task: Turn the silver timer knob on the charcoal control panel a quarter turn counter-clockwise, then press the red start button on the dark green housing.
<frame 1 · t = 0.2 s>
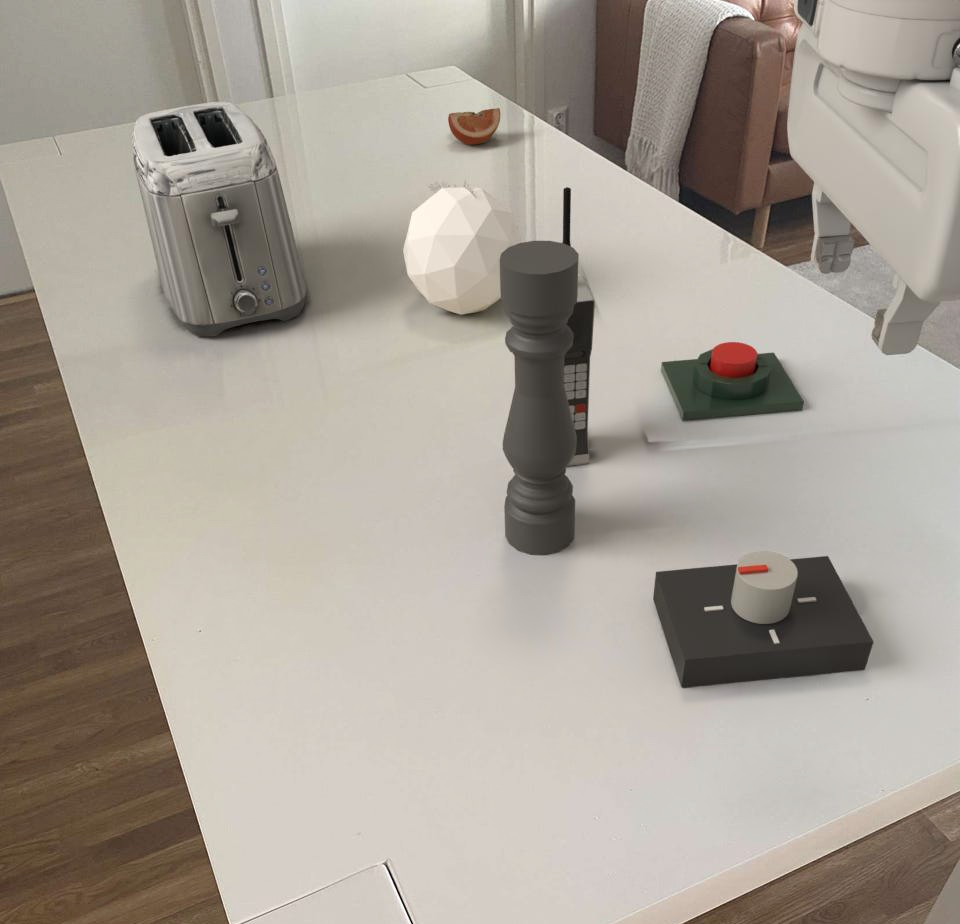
hand: (858, 305, 54), 30 cm above the table, tool pointing down, fingers open, 8 cm apart
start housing: (727, 400, 104), on the table
toaster: (233, 290, 128), on the table
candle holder: (539, 534, 89), on the table
start button: (733, 360, 101), point 4 cm above the table, slide at 0.1 cm
fruit slice: (476, 145, 162), on the table
timer panel: (754, 633, 79), on the table
geodesic sphere: (466, 307, 122), on the table
timer knob: (764, 585, 76), point 5 cm above the table, hinge at 0.0°
vintage mobile phone: (564, 455, 98), on the table
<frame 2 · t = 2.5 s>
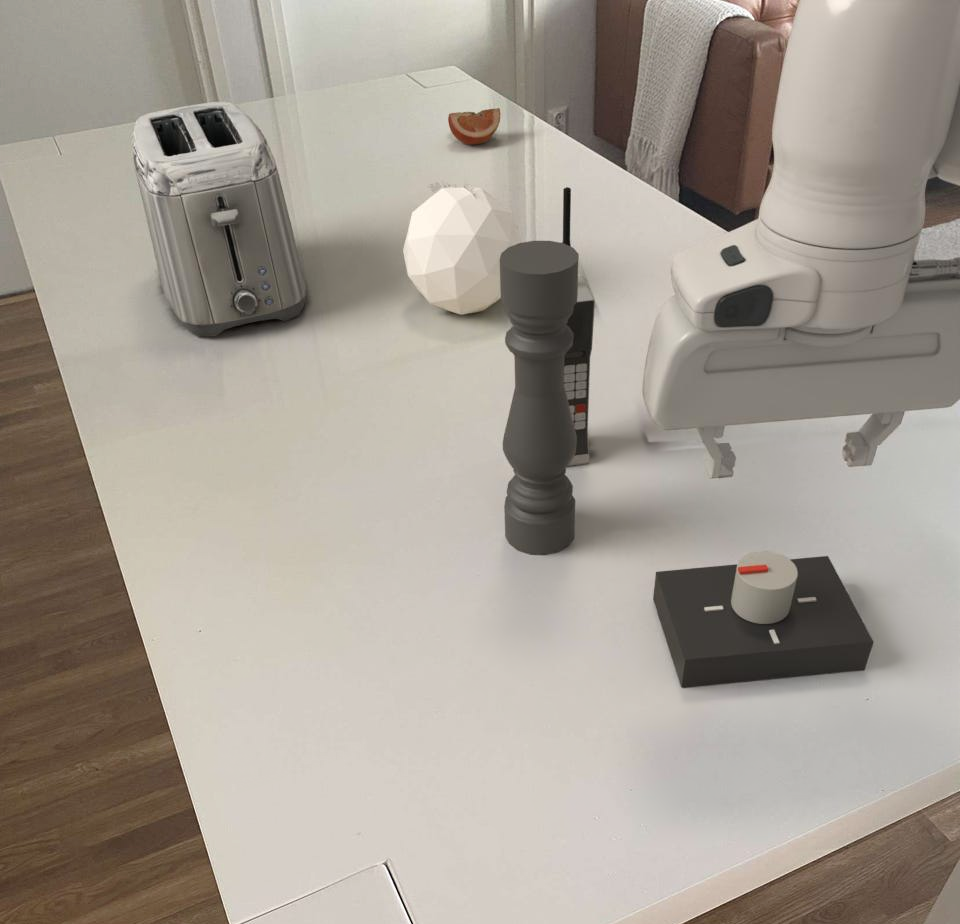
hand: (787, 467, 68), 16 cm above the table, tool pointing down, fingers open, 8 cm apart
nothing on the table moved.
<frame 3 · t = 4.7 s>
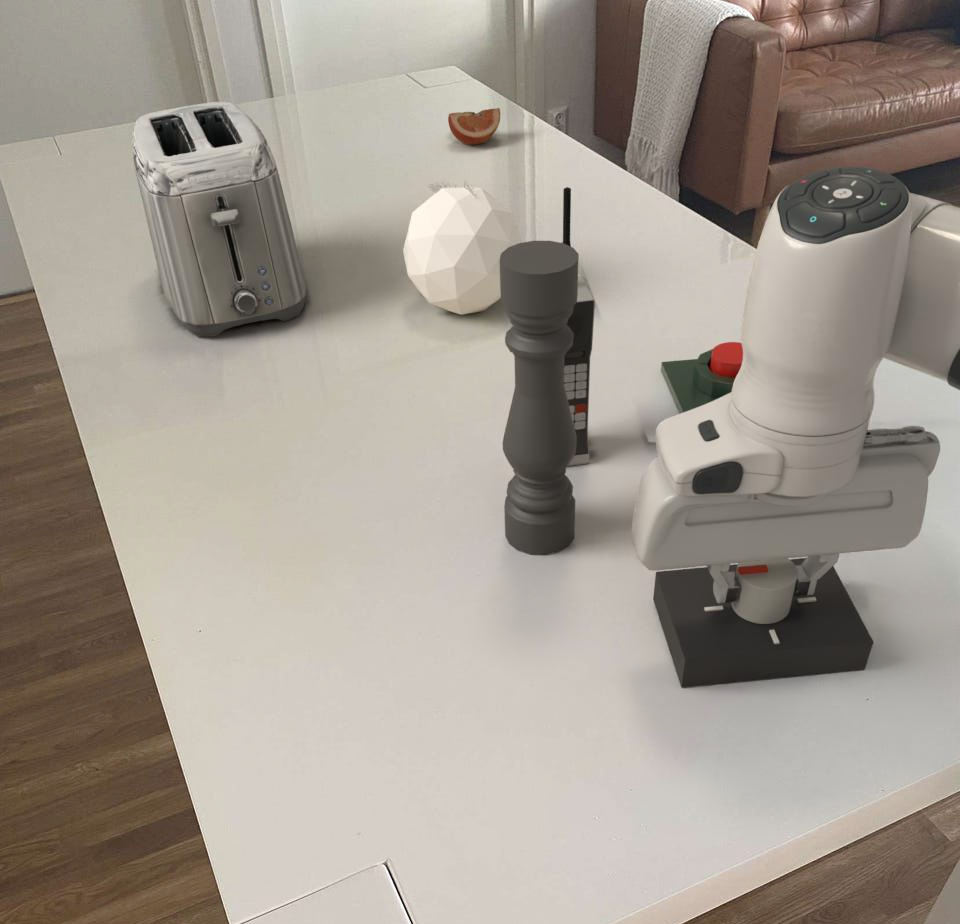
hand: (761, 594, 76), 4 cm above the table, tool pointing down, fingers closed on timer knob, 4 cm apart
timer knob: (764, 585, 76), point 5 cm above the table, hinge at 0.1°, touching gripper
everything else where it was.
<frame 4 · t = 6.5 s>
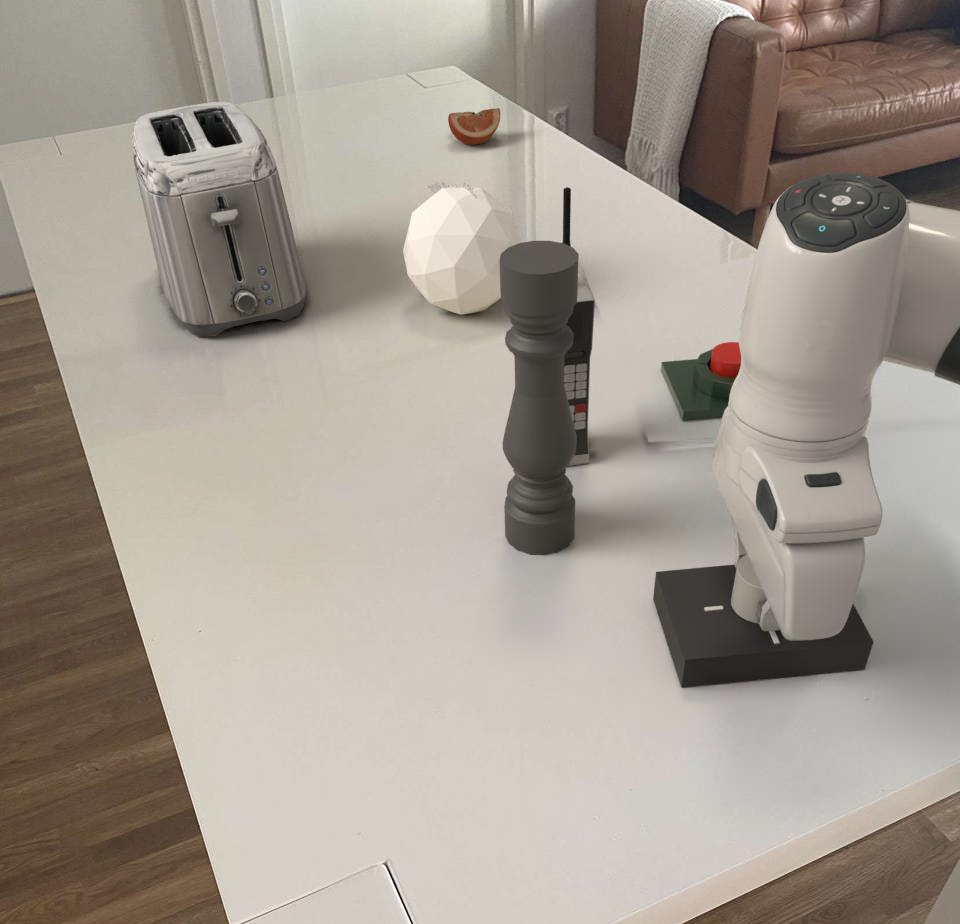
hand: (758, 598, 76), 4 cm above the table, tool pointing down, fingers closed on timer knob, 4 cm apart
timer knob: (764, 585, 76), point 5 cm above the table, hinge at 93.5°, touching gripper
everything else where it was.
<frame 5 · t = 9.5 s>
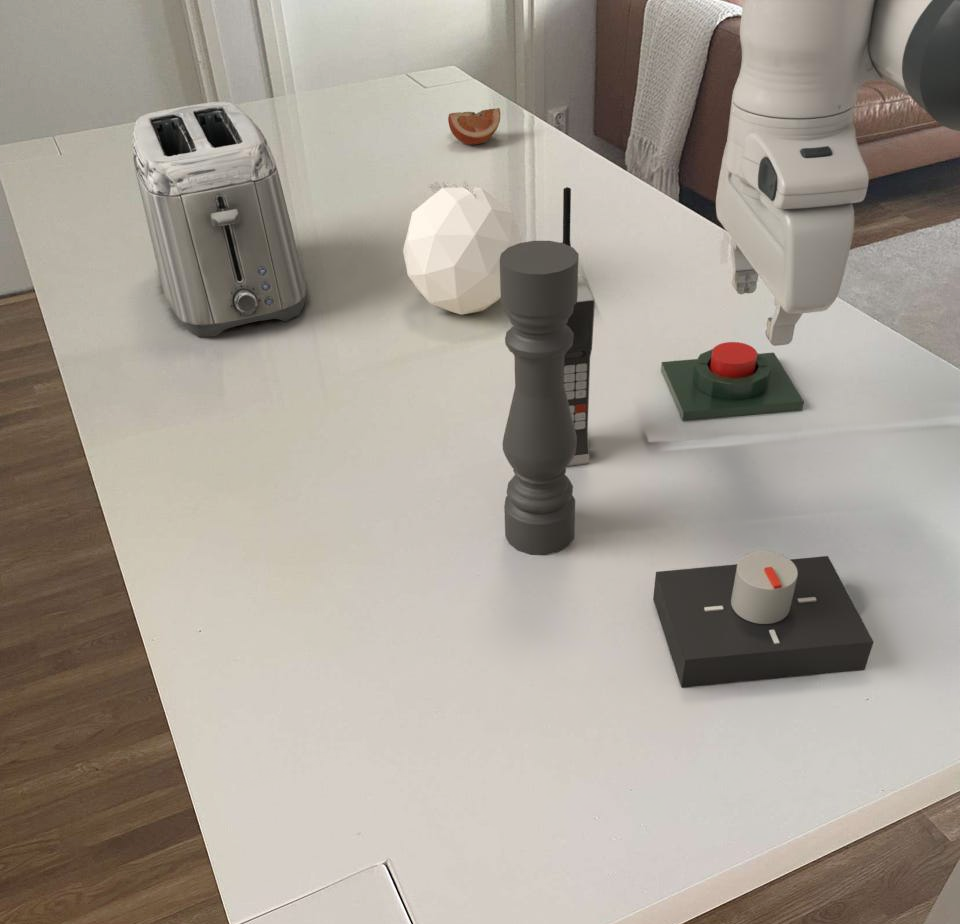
hand: (759, 314, 85), 15 cm above the table, tool pointing down, fingers open, 8 cm apart
timer knob: (764, 585, 76), point 5 cm above the table, hinge at 93.2°
everything else where it was.
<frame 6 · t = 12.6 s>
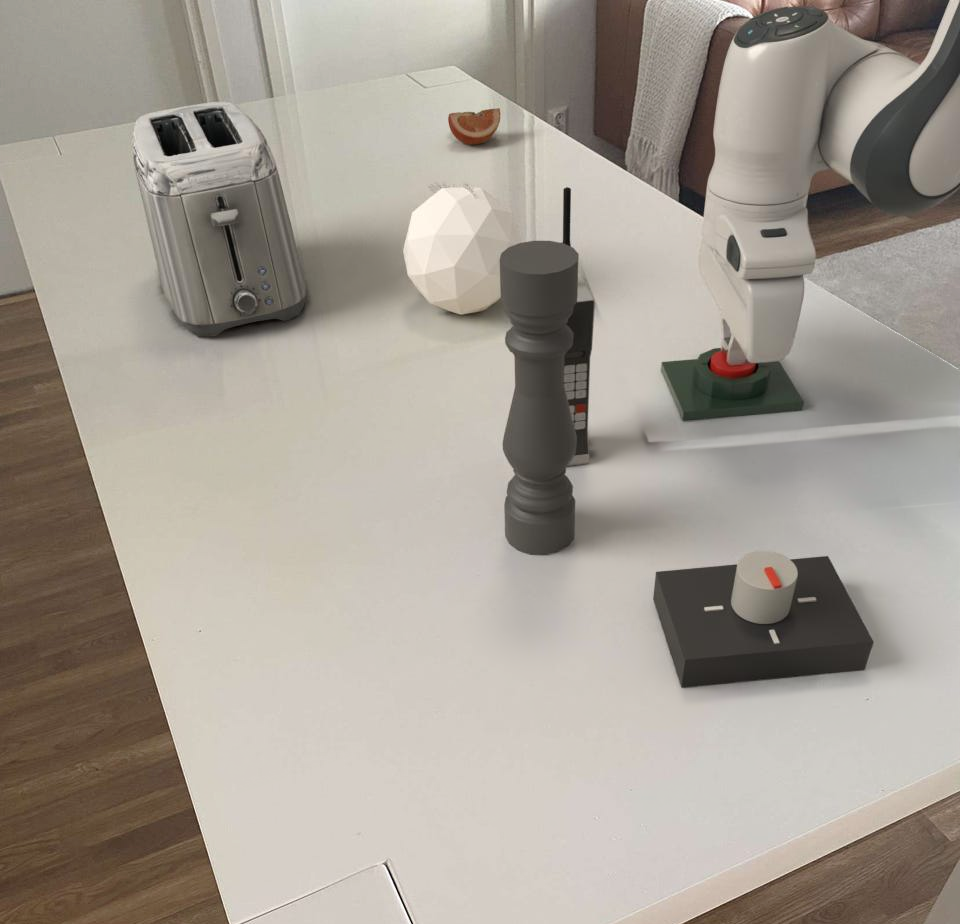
hand: (732, 358, 101), 5 cm above the table, tool pointing down, fingers closed, pressing on start button
start button: (732, 367, 101), point 4 cm above the table, slide at -0.7 cm, touching gripper
everything else where it was.
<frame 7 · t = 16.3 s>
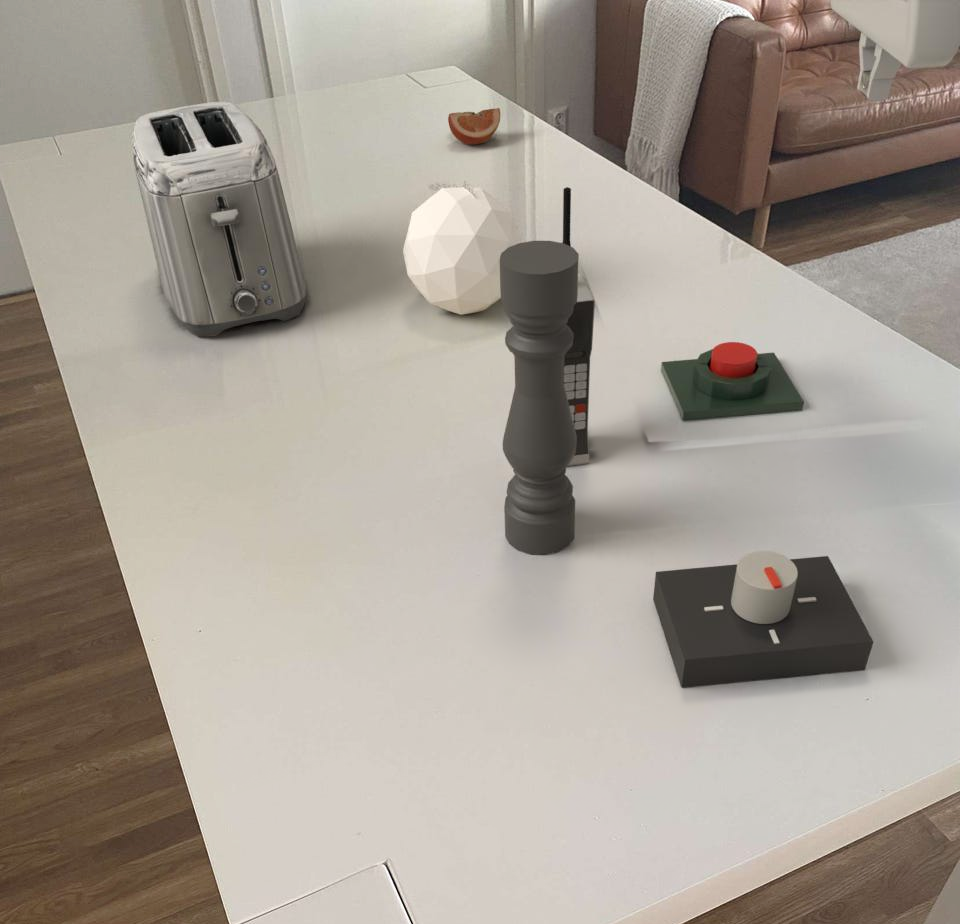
hand: (871, 96, 87), 27 cm above the table, tool pointing down, fingers closed
start button: (733, 360, 101), point 4 cm above the table, slide at 0.1 cm
everything else where it was.
at the end: timer knob at +93° (first picture: +0°); start button pushed in 1.1 cm at the most during the clip, back to where it started at the end; start button slide at 0.1 cm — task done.
